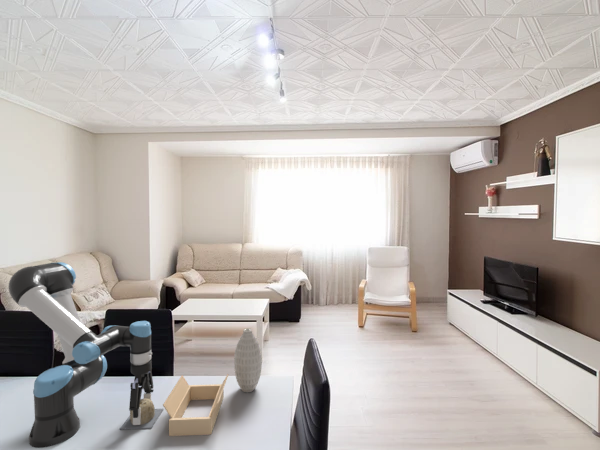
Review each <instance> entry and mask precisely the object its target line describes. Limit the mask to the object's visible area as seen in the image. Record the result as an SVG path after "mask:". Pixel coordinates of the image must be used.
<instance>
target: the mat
mask: <svg viewBox="0 0 600 450" xmlns="http://www.w3.org/2000/svg"><path fill="white" fill-rule="evenodd" d="M163 411H164V408H155V415H154V418H153V419H152V420H150V421H149V422H147V423H145V424H142V425H132V424H131V420H130V415H129V416H128V417H127V418H126V419H125V421H124V422H123V423H122V425H121V426H120V427H119V430H120V431H121V430H122V431H123V430H124V431H125V430H145V429H148V430H149V429H152V428H153V427H154V425H155V424H156V422H157V420H158V419H159V417H160V416H161V414H162V413H163Z"/></svg>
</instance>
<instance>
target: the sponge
mask: <svg viewBox="0 0 600 450" xmlns="http://www.w3.org/2000/svg"><path fill="white" fill-rule="evenodd" d="M139 407H141V424H140V425H142V424H145V423H147V422H149V421H150V420H152V419H153V418H154V415H155V409H156V408H155V404H154V402H153V401H152V399H151V400H150V399H147V398H145V399H144V397H143V398H141V400H140V406H139ZM129 416H130V420H131V424H132V425H133V411H129Z"/></svg>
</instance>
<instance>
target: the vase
mask: <svg viewBox="0 0 600 450" xmlns="http://www.w3.org/2000/svg"><path fill="white" fill-rule="evenodd" d="M262 358H263V357H262V352H261V346H260V343H259V341H258V339H257V338H256V336H255V335H254V333H253V329H252V328H244V329H243V332H242V334H241V335H240V337H239V339H238V341H237V344H236V347H235V350H234V357H233V359H234V360H233V363H234V365H233V368H234V369H233V370H234V374H235V375H234V376H235V379H236V382H237V384H238V386H239V388H240V389H241V391H242V392H243V393H251V392H254V390H255V389H256V388H257V385H258V384H259V382H260V378H261V375H262V374H261V373H262V367H263V366H262V363H263V362H262Z"/></svg>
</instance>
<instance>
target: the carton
mask: <svg viewBox="0 0 600 450" xmlns="http://www.w3.org/2000/svg"><path fill="white" fill-rule="evenodd" d="M229 375H230V374H229V373H227V374H226V376H225V378H224V380H223V382H222V383H219V384H218V383H217V384H213V383H212V384H188V381H187V380H186V378H185V377H184V375H180V378H179V379H178V380H177V382H176V384H175V385H174V387H173V389H172V390H171V392H170V393H169V394H168V396H167V398H166V399H165V401H164V403H162V406H163V409H164V410H165V411H166V412H167V414H168V416H169V419H168V435H169V437H179V436H180V437H182V436H205V435H206V436H207V435H208V436H209V435H212V433H213V429H214V427H215V425H216V421H217V417H218V416H219V412H220V409H221V406H222V404H223V403H222V402H223V400H224V396H225V395H224V388H225V385H226V383H227V381H228V377H229ZM196 400H198V401H200V400H202V401H203V400H214V401H213V403H212V406H211V409H210V412H209V414H208V416H199V417H198V416H197V417H195V416H194V417H193V416H192V417H184V414H185V413H186V410H187V408H188V407H189V404H190V403H191V401H196Z"/></svg>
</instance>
